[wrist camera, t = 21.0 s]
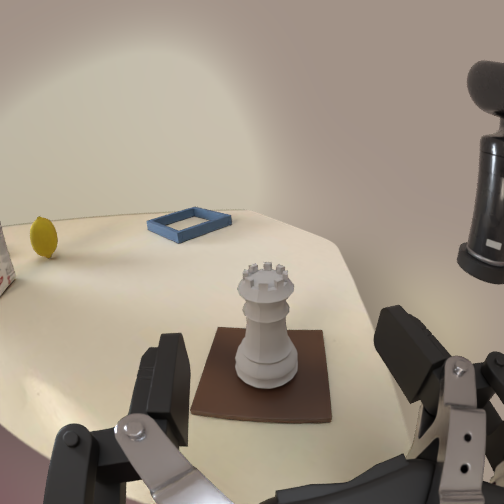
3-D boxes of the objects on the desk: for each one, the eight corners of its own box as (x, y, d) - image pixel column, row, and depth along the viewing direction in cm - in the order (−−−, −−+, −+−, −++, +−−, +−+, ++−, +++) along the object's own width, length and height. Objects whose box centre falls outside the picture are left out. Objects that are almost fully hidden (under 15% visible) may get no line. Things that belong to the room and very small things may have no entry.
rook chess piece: (289, 398, 16) (297, 299, 13) (225, 383, 17) (211, 286, 14) (303, 353, 20) (311, 259, 17) (248, 343, 21) (242, 252, 18)
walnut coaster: (218, 330, 24) (217, 326, 23) (321, 334, 22) (322, 329, 22) (191, 414, 15) (189, 410, 15) (330, 422, 14) (332, 418, 14)
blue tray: (195, 214, 58) (194, 206, 57) (232, 224, 51) (231, 215, 50) (147, 229, 50) (146, 220, 50) (178, 243, 43) (177, 233, 42)
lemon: (34, 267, 37) (21, 224, 33) (40, 255, 41) (30, 216, 38) (59, 260, 39) (47, 216, 36) (64, 249, 43) (54, 209, 40)
